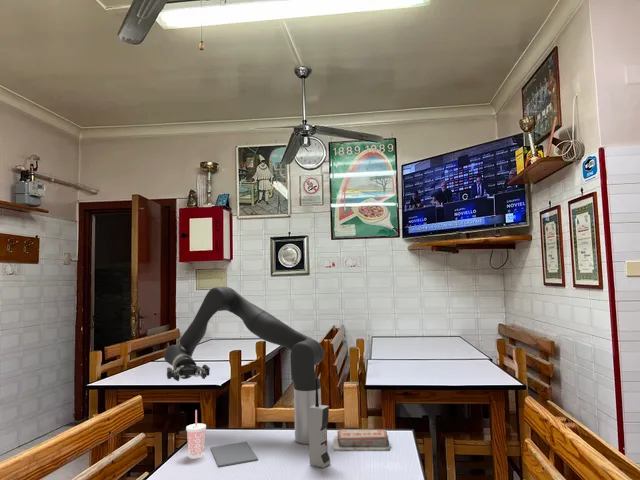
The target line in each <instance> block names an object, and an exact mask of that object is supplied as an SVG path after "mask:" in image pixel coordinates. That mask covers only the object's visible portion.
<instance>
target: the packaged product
mask: <svg viewBox="0 0 640 480" xmlns="http://www.w3.org/2000/svg"><path fill="white" fill-rule="evenodd" d="M332 446H333V448H332V450H333V451H334V452H344V451H347V452H348V451H349V452H360V451H361V452H370V451H373V452H374V451H375V452H376V451H377V452H378V451H379V452H380V451H383V452H384V451H385V452H386V451H387V452H388V451H390V450H391V448H390V439H389V435H388V432H387V430H386V429H371V428H370V429H338V430H337V435H334V437H333V445H332Z"/></svg>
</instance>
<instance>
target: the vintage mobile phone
mask: <svg viewBox="0 0 640 480" xmlns="http://www.w3.org/2000/svg"><path fill="white" fill-rule="evenodd" d="M317 378H318V377H317ZM317 378H315V379H316V395H315V396H316V404H315V405H313V406H311V407H309V408H308V409H309V444H308V447H309V449H308V450H309V466H313V467H318V468H322V469H324V468H327V466H329V465H330V464H331V458H330V455H329V453H328V424H329V413H330V406H329V405H324V404H323V405H322V404H321V405H319V404H318V379H317Z"/></svg>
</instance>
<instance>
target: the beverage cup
mask: <svg viewBox="0 0 640 480" xmlns="http://www.w3.org/2000/svg"><path fill="white" fill-rule="evenodd" d="M194 413H195V414H194V416H195V420H194V422H195V423H193V424H189V425H186V427H185V430H186V434H187V450H188V451H187V453H188V454H187V455H188V458H189V459H191V460H192V459H194V460H195V459H201V458H202V457H204V454H205V439H206V429H207V424H206V423H199V422H198V410H197V409H195V412H194Z"/></svg>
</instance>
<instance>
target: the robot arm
mask: <svg viewBox="0 0 640 480" xmlns="http://www.w3.org/2000/svg"><path fill="white" fill-rule="evenodd" d="M223 311H224V312H225V311H227V312H230V313H232V314H233V315H235V316H236V317H238V318H240V319H241V320H242V322H243V324H244V325H245V327H246V328H247V330H248V331H250V333H252V334H253V335H255V336H257V337H258V338H260V339H261V340H263V341H265V342H268V343H271V344H273V345H277V346H280V347H283V348H286V349H287V350H290V355H289V357H290V358H289V359H290V360H289V361H290V362H289V363H290V374H291V375H290V377H291V381H292V383H293V395H294V397H293V398H294V399H293V402H294V403H293V405H294V408H293V410H294V441H295V442H296V443H298V444H304V445H306V444H307V445H309V409H308V408H309V407H311V406H313V405H315V404H316V396H315V395H316V379H315V378H317V379H318V404H319V405H322V391H321V389H322V388H321V385H322V384H321V379H320V378H319V377H317V376H316V370H315V369H316V366H317V365H319V364H320V363H322V361H323V360H324V356H325V351H324V347H323V346H322V345H321V343H320V342H319V341H317V340H316V339H314V338H312V337H310V336H307V335H305V334H303V333H301V332H299V331H297V330H295V329H293V328H292V327H291V326H290V325H288V324H286V323H285V322H283V321H281V320H280V319H278V318H277V317H276V316H274V315H272V314H271V313H270V312H268V311H266V310H264V309H262V308H261V307H259V306H257V305H256V304H254V303H252V302H250V301H249V300H247V299H246V298H245V297H244V296H243V295H241V294H240V293H238V292H237V291H236V290H235V289H233V288H232V287H229V286H216V287H212V288H211V289H210V290H209V291H208V292H207V294H206V295H205V297H204V299H203V301H202V303H201V305H200V306H199V308H198V311H197V313H196V315H195V316H194V318H193V320H192V322H191V323H190V324H189V326H188V328H187V329H186V330H185V331H184V333H183V334H182V336H181V337H180V339H179V345H180V346H178V345H176V344H171V345H169V346H168V347H166V349H165V352H164V355H163V356H164V357H163V358H164V361H165V362H166V363H167V364H169V365H171V366H172V368H171V367H169V366H168V367H166V379H167V380H171V379H174V381H176V382H180V379H182V380H186V379H190V378H191V377H196V378H199V377H201V379H203V380H205V379H206V378H208V377H207V376H210V370H211V368H210V367H209V366H208V365H207V364H202V366H199V365H197V363H196V362H195V360H194V359H193V358H192V357H193V354H194V352H195V349H196V348H197V346H198V345H199V344H200V342H201V341H202V339H203V338H204V336H206V332H207V328H208V323H209V322H210V320H211V318H212V317H214V316H215V315H216V313H217V312H223Z"/></svg>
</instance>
